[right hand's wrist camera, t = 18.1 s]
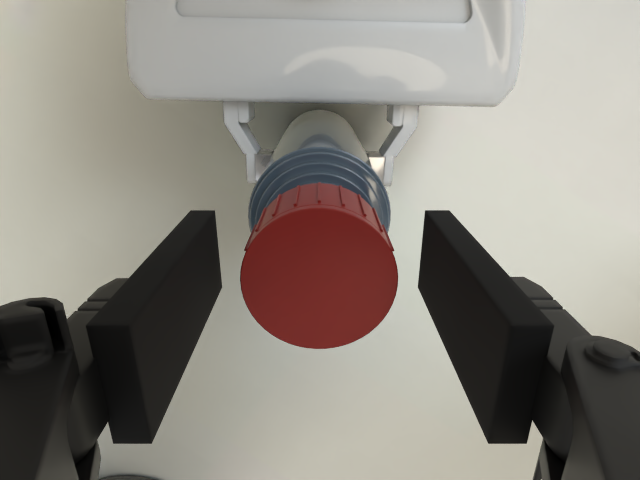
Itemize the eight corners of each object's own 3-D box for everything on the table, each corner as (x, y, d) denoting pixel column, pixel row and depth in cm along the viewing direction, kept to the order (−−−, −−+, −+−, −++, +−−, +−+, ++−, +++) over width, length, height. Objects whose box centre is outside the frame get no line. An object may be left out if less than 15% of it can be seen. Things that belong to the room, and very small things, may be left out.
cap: (271, 316, 15) (262, 363, 13) (235, 197, 14) (216, 225, 11) (395, 291, 15) (410, 335, 12) (372, 167, 13) (385, 189, 11)
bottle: (281, 108, 30) (214, 175, 11) (360, 110, 31) (428, 181, 11) (281, 185, 33) (226, 354, 13) (355, 187, 33) (406, 358, 13)
